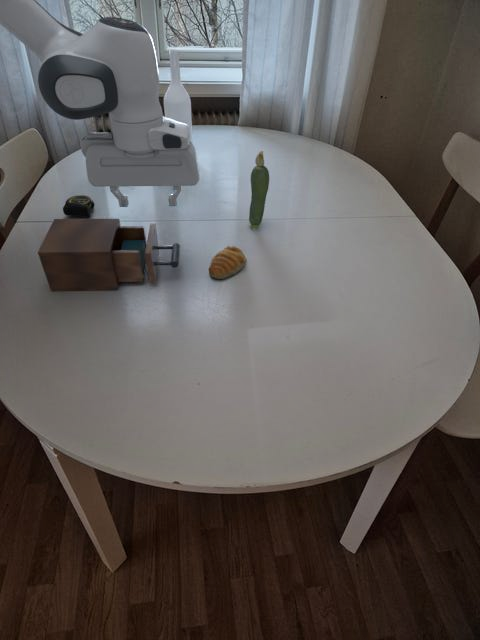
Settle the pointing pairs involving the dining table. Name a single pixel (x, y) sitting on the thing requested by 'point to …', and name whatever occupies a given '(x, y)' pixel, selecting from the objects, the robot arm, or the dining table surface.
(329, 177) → the dining table surface
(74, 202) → the tape measure
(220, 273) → the pastry
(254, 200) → the vegetable
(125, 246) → the teal block
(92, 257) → the cabinet
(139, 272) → the drawer
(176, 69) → the bottle
